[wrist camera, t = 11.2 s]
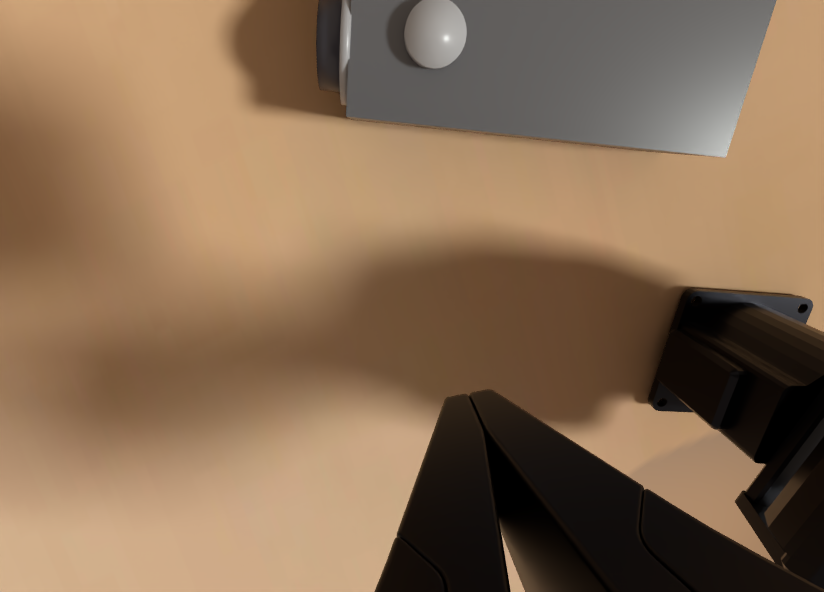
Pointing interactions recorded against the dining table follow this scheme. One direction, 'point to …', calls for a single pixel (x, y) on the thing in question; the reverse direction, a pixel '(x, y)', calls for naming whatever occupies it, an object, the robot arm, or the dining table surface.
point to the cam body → (548, 67)
